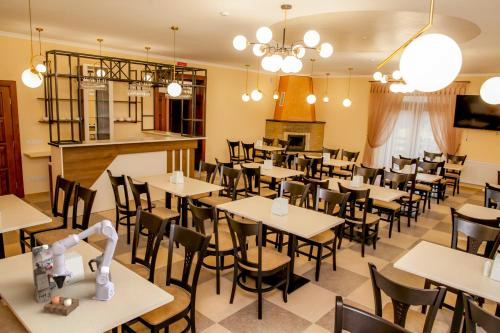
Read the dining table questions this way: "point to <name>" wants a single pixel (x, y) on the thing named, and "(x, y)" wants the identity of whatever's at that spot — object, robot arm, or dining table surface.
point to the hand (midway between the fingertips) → (60, 287)
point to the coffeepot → (98, 262)
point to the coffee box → (42, 284)
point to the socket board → (61, 307)
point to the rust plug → (55, 300)
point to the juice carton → (43, 260)
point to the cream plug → (67, 302)
